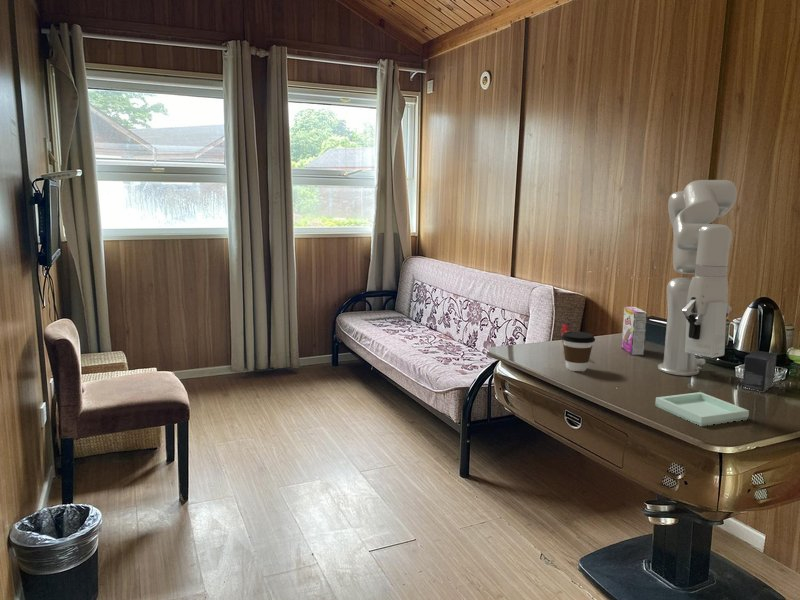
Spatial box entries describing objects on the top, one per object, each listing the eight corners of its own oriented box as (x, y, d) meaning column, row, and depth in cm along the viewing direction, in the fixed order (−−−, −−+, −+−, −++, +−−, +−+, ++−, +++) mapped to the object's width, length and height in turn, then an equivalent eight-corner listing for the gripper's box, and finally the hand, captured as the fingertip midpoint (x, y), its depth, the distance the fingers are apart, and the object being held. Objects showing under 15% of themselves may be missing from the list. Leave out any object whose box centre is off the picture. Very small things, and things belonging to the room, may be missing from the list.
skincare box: (724, 356, 161) (730, 301, 159) (712, 358, 158) (717, 303, 156) (694, 349, 168) (699, 297, 166) (682, 352, 165) (687, 298, 163)
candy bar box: (620, 348, 233) (623, 306, 231) (633, 348, 233) (636, 306, 231) (630, 355, 222) (634, 311, 220) (644, 355, 222) (648, 312, 220)
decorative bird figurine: (564, 348, 232) (565, 322, 231) (583, 360, 215) (585, 332, 213) (556, 348, 232) (558, 322, 230) (576, 360, 215) (577, 333, 213)
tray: (699, 400, 173) (700, 392, 172) (748, 419, 158) (749, 410, 158) (655, 406, 168) (655, 397, 167) (700, 426, 153) (701, 417, 152)
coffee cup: (552, 367, 205) (554, 333, 203) (573, 363, 211) (575, 329, 209) (578, 375, 196) (581, 339, 194) (599, 370, 202) (602, 335, 200)
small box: (751, 381, 192) (754, 349, 190) (774, 385, 188) (778, 353, 186) (740, 388, 185) (744, 355, 183) (764, 393, 180) (768, 359, 178)
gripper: (724, 270, 166) (717, 333, 169) (674, 271, 160) (668, 336, 163) (747, 272, 159) (740, 338, 162) (696, 274, 153) (690, 342, 156)
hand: (704, 337), depth 162 cm, fingers closed on skincare box, 6 cm apart
